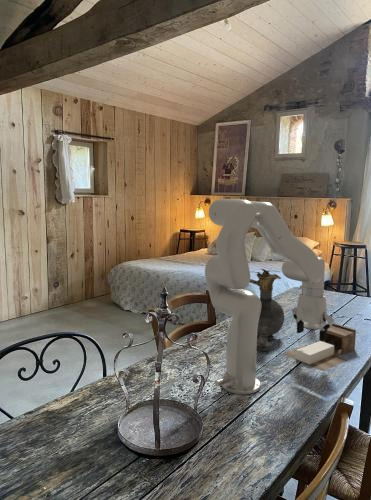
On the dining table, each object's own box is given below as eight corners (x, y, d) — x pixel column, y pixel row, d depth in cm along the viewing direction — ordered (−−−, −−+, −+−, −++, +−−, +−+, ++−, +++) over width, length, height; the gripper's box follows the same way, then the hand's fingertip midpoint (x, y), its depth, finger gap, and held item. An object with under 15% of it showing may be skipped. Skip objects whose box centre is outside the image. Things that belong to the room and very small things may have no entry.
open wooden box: (323, 373, 140) (324, 348, 139) (281, 356, 155) (282, 333, 153) (364, 355, 156) (365, 332, 155) (323, 340, 170) (324, 320, 169)
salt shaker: (270, 356, 155) (271, 325, 153) (254, 354, 156) (255, 324, 154) (270, 350, 161) (271, 320, 159) (255, 348, 162) (256, 319, 160)
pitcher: (276, 345, 165) (280, 273, 161) (235, 335, 176) (236, 267, 171) (286, 337, 174) (289, 268, 169) (246, 328, 185) (248, 263, 180)
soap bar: (309, 364, 145) (310, 355, 145) (295, 358, 150) (296, 349, 149) (333, 354, 154) (334, 345, 154) (320, 349, 159) (320, 340, 158)
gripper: (286, 288, 150) (285, 332, 153) (327, 298, 137) (325, 346, 140) (299, 284, 155) (298, 327, 158) (340, 294, 141) (338, 340, 144)
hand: (311, 336), depth 149 cm, fingers open, 9 cm apart
